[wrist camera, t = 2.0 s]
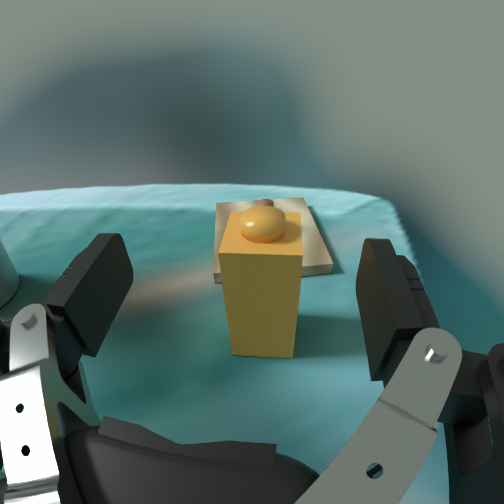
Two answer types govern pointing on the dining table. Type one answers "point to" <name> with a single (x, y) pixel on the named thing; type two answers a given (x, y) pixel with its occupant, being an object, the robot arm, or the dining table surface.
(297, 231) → the tall orange toy brick
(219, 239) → the beige board with knob
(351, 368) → the dining table surface
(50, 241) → the dining table surface
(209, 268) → the dining table surface
